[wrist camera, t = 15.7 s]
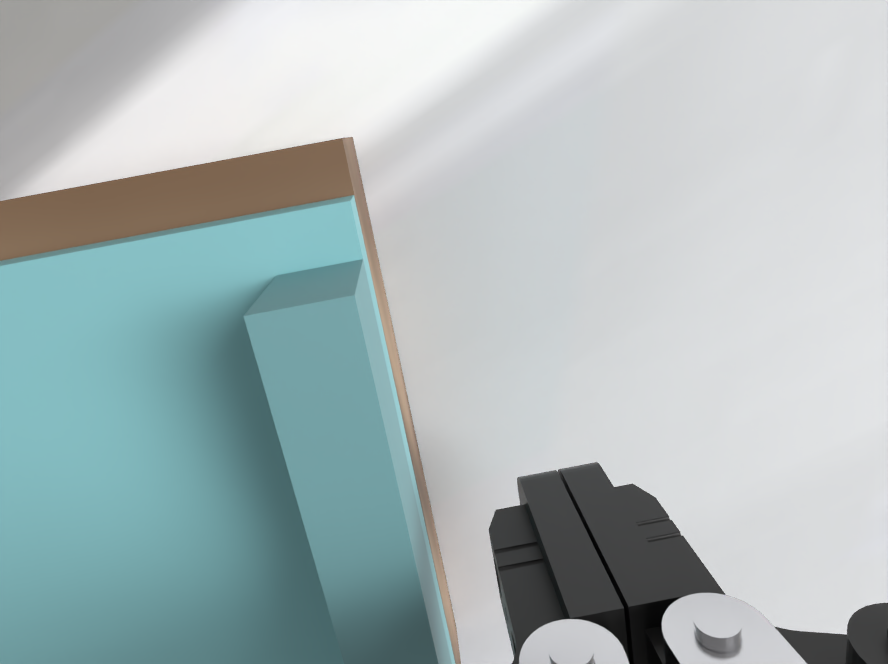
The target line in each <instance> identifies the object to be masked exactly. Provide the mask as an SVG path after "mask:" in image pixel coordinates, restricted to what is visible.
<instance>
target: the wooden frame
mask: <svg viewBox="0 0 888 664" xmlns="http://www.w3.org/2000/svg"><path fill="white" fill-rule="evenodd" d="M352 195H354V198H355V202H356V207H357V211H358V216H359V221H360V225H361V230H362V234H363V239H364V244H365V248H366V253H367V258H368V262H369V267H370V271H371V276H372V281H373V285H374V290H375V294H376V299H377V304H378V308H379V313H380V318H381V322H382V327H383V331H384V336H385V341H386V345H387V350H388V354H389V359H390V364H391V368H392V373H393V378H394V382H395V387H396V391H397V396H398V401H399V405H400V410H401V414H402V419H403V424H404V428H405V433H406V438H407V442H408V447H409V451H410V456H411V461H412V465H413V470H414V474H415V479H416V484H417V488H418V493H419V497H420V502H421V507H422V511H423V516H424V521H425V525H426V530H427V534H428V539H429V544H430V548H431V553H432V557H433V562H434V567H435V571H436V576H437V581H438V585H439V590H440V594H441V599H442V604H443V608H444V613H445V617H446V622H447V627H448V631H449V636H450V641H451V645H452V650H453V654H454V659H455V664H461V661H460V653H459V645H458V638H457V630H456V624H455V620H454V615H453V610H452V605H451V601H450V596H449V591H448V586H447V582H446V577H445V572H444V567H443V563H442V558H441V553H440V549H439V544H438V539H437V534H436V530H435V525H434V520H433V515H432V511H431V506H430V501H429V496H428V492H427V487H426V482H425V478H424V473H423V468H422V463H421V459H420V454H419V449H418V444H417V440H416V435H415V430H414V425H413V421H412V416H411V411H410V407H409V402H408V397H407V392H406V388H405V383H404V378H403V373H402V369H401V364H400V359H399V354H398V350H397V345H396V340H395V336H394V331H393V326H392V321H391V317H390V312H389V307H388V302H387V298H386V293H385V288H384V283H383V279H382V274H381V269H380V265H379V260H378V255H377V250H376V246H375V241H374V236H373V231H372V227H371V222H370V217H369V212H368V208H367V203H366V198H365V194H364V189H363V184H362V179H361V175H360V170H359V165H358V160H357V156H356V151H355V146H354V141H353V137H349V138H341V139H336V140H330V141H325V142H319V143H314V144H308V145H303V146H298V147H292V148H287V149H281V150H276V151H270V152H265V153H260V154H254V155H249V156H243V157H238V158H232V159H227V160H221V161H216V162H211V163H205V164H200V165H194V166H189V167H183V168H178V169H173V170H167V171H162V172H156V173H151V174H145V175H140V176H135V177H129V178H124V179H118V180H113V181H107V182H102V183H97V184H91V185H86V186H80V187H75V188H69V189H64V190H59V191H53V192H48V193H42V194H37V195H31V196H26V197H21V198H15V199H10V200H4V201H0V261H2V260H8V259H13V258H18V257H24V256H29V255H34V254H40V253H45V252H51V251H56V250H61V249H67V248H72V247H77V246H83V245H88V244H94V243H99V242H104V241H110V240H115V239H120V238H126V237H131V236H137V235H142V234H147V233H153V232H158V231H163V230H169V229H174V228H180V227H185V226H190V225H196V224H201V223H206V222H212V221H217V220H223V219H228V218H233V217H239V216H244V215H250V214H255V213H260V212H266V211H271V210H276V209H282V208H287V207H293V206H298V205H303V204H309V203H314V202H319V201H325V200H330V199H336V198H341V197H346V196H352Z"/></svg>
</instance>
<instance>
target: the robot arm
mask: <svg viewBox="0 0 888 664" xmlns="http://www.w3.org/2000/svg"><path fill="white" fill-rule="evenodd" d="M517 484H518V492H519V498H520V505H519V506H514V507H509V508H504V509H498V510H496V511H495V514H494V517H493V519H492V522H491V525H490V528H489V534H490V540H491V546H492V552H493V557H494V563H495V569H496V575H497V581H498V587H499V593H500V598H501V603H502V607H503V611H504V616H505V620H506V624H507V629H508V633H509V637H510V641H511V646H512V650H513V655H514V661H513V663H512V664H888V603H879V604H873V605H869V606H866V607H863V608H861V609H859V610H858V611H857V612H855V613H854V614H853V615H852V617H851V618H850V620H849V622H848V627H847V635H844V634H830V633H816V632H802V631H793V630H787V629H782V628H778V627H775V626H773V625H772V624H771V623H770V621H769V620H768V619H767V618H766V617H765V616H764V615H763V614H762V613H761V612H760V611H758V610H757V609H756V608H754V607H753V606H751V605H749V604H748V603H746V602H744V601H742V600H739V599H737V598H734V597H731V596H728V595H725V593H724V592H723V591H722V589H721V588H720V586H719V585H718V584H717V582H716V581H715V580H714V578H713V577H712V575H711V574H710V573H709V571H708V570H707V568H706V567H705V566H704V564H703V563H702V562H701V560H700V559H699V557H698V556H697V555H696V553H695V552H694V550H693V549H692V548H691V546H690V545H689V544H688V542H687V541H686V539H685V538H684V537H683V536H681V534H680V531H679V530H678V528H677V527H676V525H675V524H674V523H673V521H672V520H670V519H669V516H668V514H667V513H666V512H665V510H664V509H663V507H662V506H661V505H660V503H659V502H658V501H657V499H656V498H655V497H654V496H652V495H650V494H649V493H647V492H645V491H644V490H642V489H640V488H639V487H637V486H636V485H634V484H629V485H623V486H618V487H613V485H612V483H611V482H610V480H609V479H608V477H607V475H606V474H605V472H604V471H603V469H602V467H601V466H600V465H599V463H597V462H596V463H590V464H585V465H580V466H574V467H569V468H564V469H559V470H558V472H557V471H556V470H554V471H549V472H544V473H538V474H533V475H528V476H522V477H518V478H517Z"/></svg>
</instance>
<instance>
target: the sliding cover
mask: <svg viewBox="0 0 888 664" xmlns="http://www.w3.org/2000/svg"><path fill="white" fill-rule="evenodd" d="M0 664H455V659H454V654H453V650H452V645H451V641H450V636H449V631H448V627H447V622H446V617H445V613H444V608H443V604H442V599H441V594H440V590H439V585H438V581H437V576H436V571H435V567H434V562H433V557H432V553H431V548H430V544H429V539H428V534H427V530H426V525H425V521H424V516H423V511H422V507H421V502H420V497H419V493H418V488H417V484H416V479H415V474H414V470H413V465H412V461H411V456H410V451H409V447H408V442H407V438H406V433H405V428H404V424H403V419H402V414H401V410H400V405H399V401H398V396H397V391H396V387H395V382H394V378H393V373H392V368H391V364H390V359H389V354H388V350H387V345H386V341H385V336H384V331H383V327H382V322H381V318H380V313H379V308H378V304H377V299H376V294H375V290H374V285H373V281H372V276H371V271H370V267H369V262H368V258H367V253H366V248H365V244H364V239H363V234H362V230H361V225H360V221H359V216H358V211H357V207H356V202H355V198H354V195H352V196H346V197H341V198H336V199H330V200H325V201H319V202H314V203H309V204H303V205H298V206H293V207H287V208H282V209H276V210H271V211H266V212H260V213H255V214H250V215H244V216H239V217H233V218H228V219H223V220H217V221H212V222H206V223H201V224H196V225H190V226H185V227H180V228H174V229H169V230H163V231H158V232H153V233H147V234H142V235H137V236H131V237H126V238H120V239H115V240H110V241H104V242H99V243H94V244H88V245H83V246H77V247H72V248H67V249H61V250H56V251H51V252H45V253H40V254H34V255H29V256H24V257H18V258H13V259H8V260H2V261H0Z"/></svg>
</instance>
